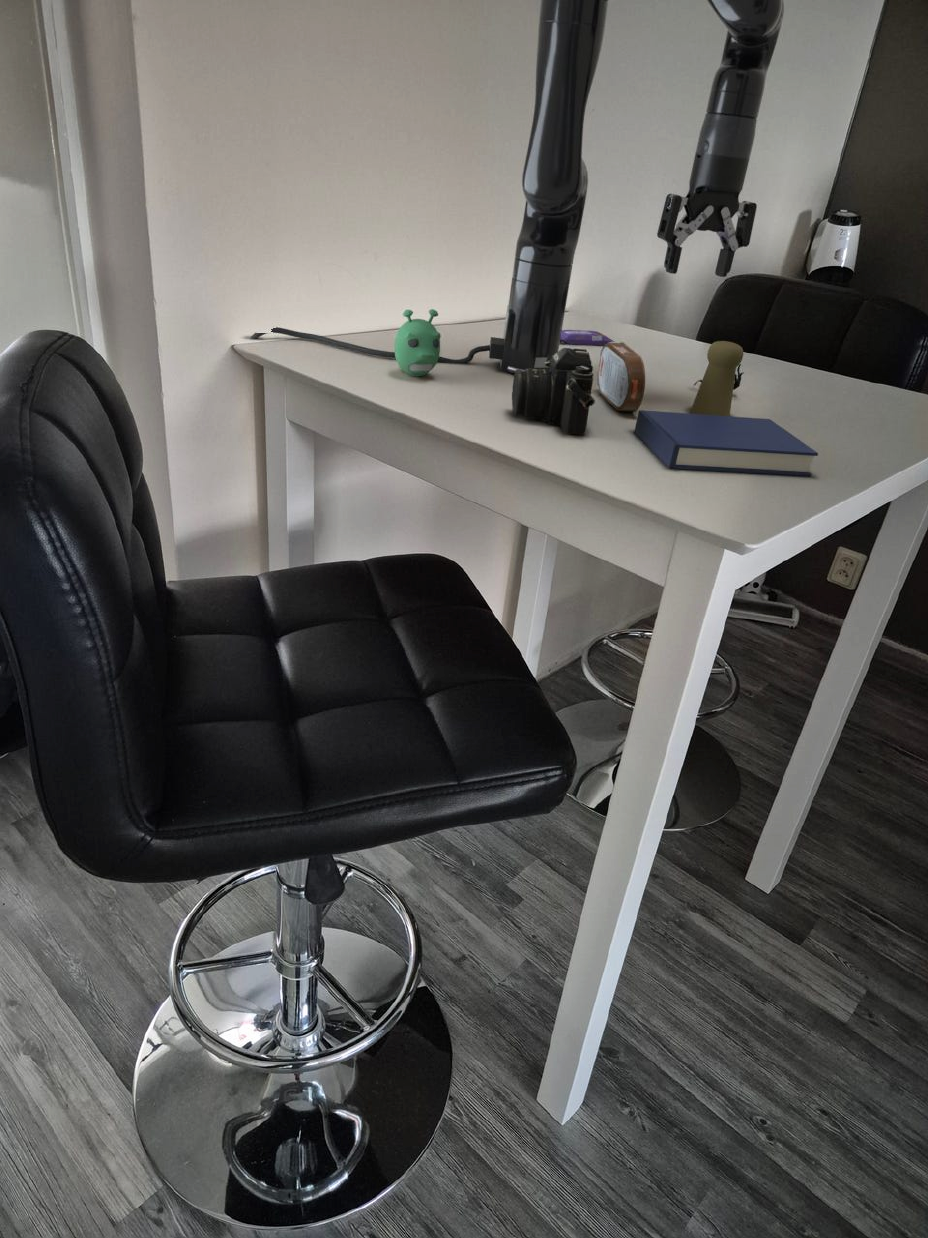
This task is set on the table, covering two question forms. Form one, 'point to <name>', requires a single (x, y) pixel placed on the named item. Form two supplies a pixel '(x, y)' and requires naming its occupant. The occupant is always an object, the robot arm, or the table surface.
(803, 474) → the book
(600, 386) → the tin
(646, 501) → the table surface
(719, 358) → the cork
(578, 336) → the snack package
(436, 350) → the alien toy
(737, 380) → the creature
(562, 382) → the film camera
